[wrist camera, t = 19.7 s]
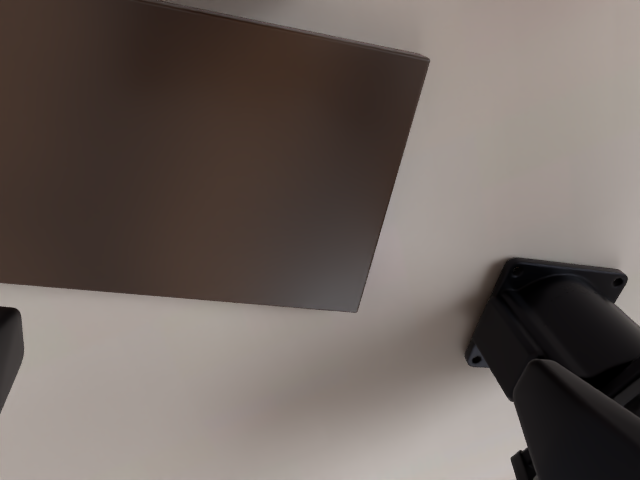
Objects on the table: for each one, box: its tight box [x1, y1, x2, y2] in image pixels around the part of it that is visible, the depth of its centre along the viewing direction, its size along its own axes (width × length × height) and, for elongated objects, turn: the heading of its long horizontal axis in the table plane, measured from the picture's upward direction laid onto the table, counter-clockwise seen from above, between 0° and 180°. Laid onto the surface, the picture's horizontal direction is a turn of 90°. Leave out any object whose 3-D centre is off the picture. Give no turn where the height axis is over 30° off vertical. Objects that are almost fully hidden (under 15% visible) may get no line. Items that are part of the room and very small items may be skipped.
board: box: [0, 0, 430, 313], centre depth 17 cm, size 20×11×1 cm, turn 79°
